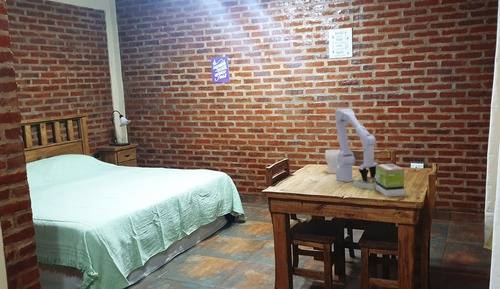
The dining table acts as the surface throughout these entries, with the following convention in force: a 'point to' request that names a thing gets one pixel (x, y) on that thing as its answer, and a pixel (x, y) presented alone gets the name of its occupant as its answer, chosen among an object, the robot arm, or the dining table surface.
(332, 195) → the dining table surface
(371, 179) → the pine crate
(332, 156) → the beige flared cylinder
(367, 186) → the tray
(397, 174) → the tea box
